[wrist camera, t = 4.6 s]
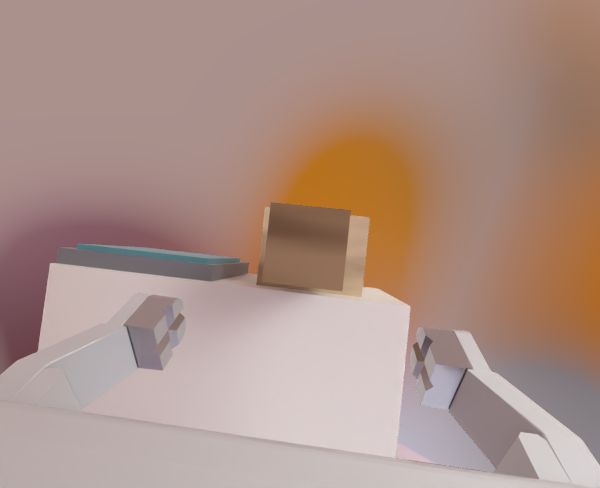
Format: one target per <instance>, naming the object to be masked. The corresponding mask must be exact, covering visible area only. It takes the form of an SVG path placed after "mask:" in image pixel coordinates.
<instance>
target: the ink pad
mask: <svg viewBox="0 0 600 488" xmlns="http://www.w3.org/2000/svg"><path fill="white" fill-rule="evenodd" d="M56 263H59V264H67V265H76V266H84V267H92V268H101V269H109V270H117V271H126V272H134V273H143V274H151V275H159V276H168V277H176V278H184V279H193V280H201V281H210V282H212V281H217V280H221V279H226V278H231V277H235V276H240V275H245V274H248V266H249V263H246V262H240V258H232V257H224V256H214V255H206V254H197V253H189V252H180V251H170V250H162V249H153V248H142V247H141V248H140V247H125V246H108V245H92V244H77V248H63V247H59V248H58V254H57V261H56Z"/></svg>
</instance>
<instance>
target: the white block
mask: <svg viewBox="0 0 600 488" xmlns="http://www.w3.org/2000/svg"><path fill="white" fill-rule="evenodd" d="M256 283H257V275H256V274H245V275H240V276H235V277H231V278H226V279H221V280H217V281H212V282H210V281H201V280H193V279H184V278H176V277H168V276H159V275H151V274H143V273H134V272H126V271H117V270H109V269H101V268H92V267H84V266H76V265H67V264H59V263H50V269H49V276H48V283H47V290H46V298H45V304H44V311H43V318H42V326H41V333H40V340H39V347H38V351H40V350H43V349H45V348H47V347H49V346H52V345H54V344H56V343H58V342H61V341H63V340H65V339H67V338H70V337H72V336H74V335H76V334H79V333H81V332H83V331H85V330H88V329H90V328H92V327H94V326H97V325H99V324H101V323H104V324H106V323H107V322H108V321H109V320H110V319H111V318H112V317H113V316H114V315H115V314H116V313H117V312H118V311H119V310H120V309H121V308H122V307H123V306H124V305H125V304H126V303H127V302H128V301H129V300H130V299H131V298H132V297H133V296H134V295H135V294H137V293H143V294H150V295H159V296H166V297H173V298H179V299H181V300H182V304H183V309H182V310H181V312H180V313H181V314H182V315H183V316H184V317H185V322H186V326H185V332H184V335H183V338H182V340H181V342H180V344H179V345H177V346H176V347H174V348H172V353H173V355H172V357H171V358H170V360H169V362H168V363H167V365H166V366H165V368H164V370H163V371H162V370H153V369H143V368H138V370H136V371H135V372H134V373H132V374H131V375H129V376H128V377H127V378H125V379H124V380H122V381H121V382H120V383H118V384H117V385H116V386H114V387H113V388H111V389H110V390H109V391H107V392H106V393H104V394H103V395H102V396H100V397H99V398H97V399H96V400H95V401H93V402H92V403H91V404H89V405H88V406H86V407H85V408H84V409H82V411H83V412H87V413H93V414H100V415H107V416H114V417H121V418H127V419H134V420H141V421H148V422H154V423H161V424H168V425H175V426H181V427H188V428H195V429H202V430H209V431H215V432H222V433H229V434H235V435H242V436H249V437H256V438H262V439H269V440H276V441H283V442H289V443H296V444H303V445H309V446H316V447H323V448H330V449H337V450H344V451H350V452H357V453H364V454H371V455H378V456H385V457H391V458H396V452H397V442H398V432H399V421H400V411H401V400H402V389H403V379H404V369H405V359H406V348H407V338H408V327H409V317H410V306H409V305H407V304H405V303H403V302H401V301H400V300H398V299H396V298H394V297H392V296H390V295H389V294H387V293H385V292H383V291H381V290H379V289H377V288H367V287H363V289H362V297H355V296H347V295H339V294H330V293H322V292H313V291H305V290H296V289H288V288H280V287H271V286H263V285H256Z"/></svg>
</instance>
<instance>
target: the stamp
mask: <svg viewBox="0 0 600 488" xmlns="http://www.w3.org/2000/svg"><path fill="white" fill-rule="evenodd" d="M350 212H351V210H343V209H332V208H322V207H312V206H302V205H291V204H281V203H271V206H270V208H268V207H265V213H264V223H263V231H262V240H261V248H260V257H259V266H258V274H257V283H256V285H263V286H271V287H280V288H288V289H296V290H305V291H313V292H322V293H330V294H339V295H347V296H355V297H362V289H363V280H364V270H365V269H364V268H365V260H366V250H367V240H368V231H369V230H368V229H369V221H370V217H359V216H350V214H351V213H350Z"/></svg>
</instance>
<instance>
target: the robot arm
mask: <svg viewBox="0 0 600 488" xmlns="http://www.w3.org/2000/svg"><path fill="white" fill-rule="evenodd" d="M182 309H183V304H182V300H181V299H179V298H173V297H166V296H159V295H150V294H143V293H137V294H135V295H134V296H133V297H132V298H131V299H130V300H129V301H128V302H127V303H126V304H125V305H124V306H123V307H122V308H121V309H120V310H119V311H118V312H117V313H116V314H115V315H114V316H113V317H112V318H111V319H110V320H109V321H108V322H107V323H106V324H104V323H101V324H99V325H97V326H94V327H92V328H90V329H88V330H85V331H83V332H81V333H79V334H76V335H74V336H72V337H70V338H67V339H65V340H63V341H61V342H58V343H56V344H54V345H52V346H49V347H47V348H45V349H43V350H40V351H38V352H36V353H34V354H31V355H29V356H27V357H25V358H22V359H20V360H18V361H16V362H15V363H14V364H13V365H11V366H10V367H9V368H8V369H7V370H6V371H4V372H3V373H2V374H1V375H0V488H600V466H599V464H598V463H597V461H596V460H595V458H594V457H593V455H592V454H591V452H590V451H589V449H588V448H587V446H586V445H585V444H584V442H583V441H582V439H580V438H579V437H578V436H576V435H575V434H574V433H573V432H572V431H570V430H569V429H568V428H567V427H565V426H564V425H562V424H561V423H560V422H559V421H557V420H556V419H555V418H554V417H552V416H551V415H550V414H549V413H547V412H546V411H545V410H543V409H542V408H541V407H540V406H538V405H537V404H536V403H534V402H533V401H532V400H531V399H529V398H528V397H527V396H526V395H524V394H523V393H522V392H520V391H519V390H518V389H516V388H515V387H514V386H513V385H511V384H510V383H509V382H508V381H506V380H505V379H504V378H502V377H501V376H500V375H499V374H497V373H494V372H491V370H490V369H489V367H488V365H487V363H486V361H485V359H484V357H483V356H482V354H481V352H480V350H479V348H478V346H477V345H476V343H475V341H474V339H473V337H472V335H471V334H470V333H469V332H467V331H459V330H446V329H437V328H428V327H420V328H419V329H418V331H417V334H416V337H417V341H418V342H417V343H416V344H414V345H413V347H412V350H411V357H410V363H411V370H412V374H413V375H414V376H415V377H416V378H417V379H418V381H417V384H416V390H417V394H418V397H419V401H420V405H422V406H428V407H434V408H440V409H446V410H449V412H450V414H451V415H452V416H453V417H454V418H455V420H456V421H457V422H458V423H459V425H460V426H461V427H462V428H463V429H464V431H465V432H466V433H467V434H468V435H469V437H470V438H471V439H472V440H473V441H474V443H475V444H476V445H477V446H478V448H479V449H480V450H481V451H482V452H483V454H484V455H485V456H486V457H487V458H488V460H489V461H490V462H491V463H492V464H493V466H494V467H495V468H496V470H495V472H494V473H493V472H486V471H479V470H473V469H465V468H459V467H452V466H446V465H439V464H432V463H425V462H419V461H412V460H405V459H398V458H391V457H385V456H378V455H371V454H364V453H357V452H350V451H344V450H337V449H330V448H323V447H316V446H309V445H303V444H296V443H289V442H283V441H276V440H269V439H262V438H256V437H249V436H242V435H235V434H229V433H222V432H215V431H209V430H202V429H195V428H188V427H181V426H175V425H168V424H161V423H154V422H148V421H141V420H134V419H127V418H121V417H114V416H107V415H100V414H93V413H87V412H83V411H82V409H84V408H85V407H86V406H88V405H89V404H91V403H92V402H93V401H95V400H96V399H97V398H99V397H100V396H102V395H103V394H104V393H106V392H107V391H109V390H110V389H111V388H113V387H114V386H116V385H117V384H118V383H120V382H121V381H122V380H124V379H125V378H127V377H128V376H129V375H131V374H132V373H134V372H135V371H136V370H138V368H143V369H153V370H162V371H163V370H164V368H165V366H166V365H167V363H168V362H169V360H170V358H171V357H172V355H173V353H172V348H174V347H176V346H177V345H179V344H180V342H181V340H182V338H183V335H184V332H185V326H186V322H185V317H184V316H183V315H182V314H181V313H180V312H181V310H182Z"/></svg>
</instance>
